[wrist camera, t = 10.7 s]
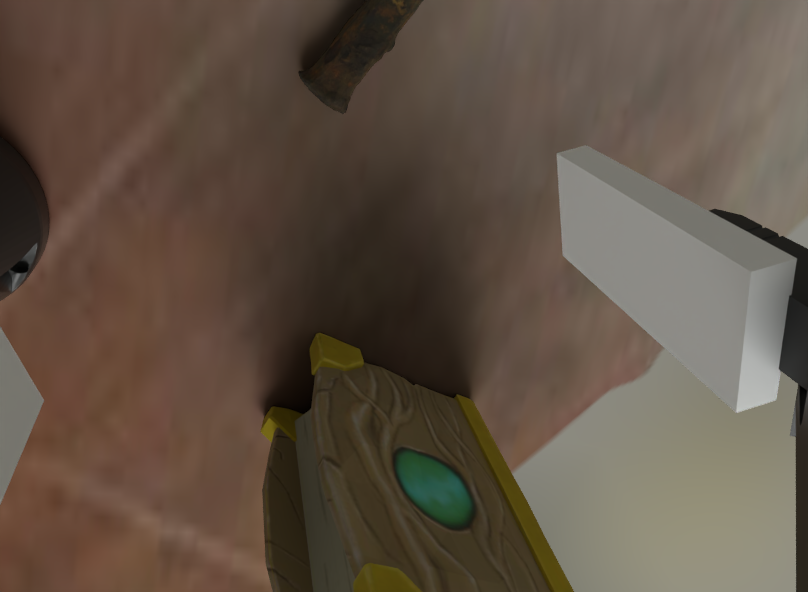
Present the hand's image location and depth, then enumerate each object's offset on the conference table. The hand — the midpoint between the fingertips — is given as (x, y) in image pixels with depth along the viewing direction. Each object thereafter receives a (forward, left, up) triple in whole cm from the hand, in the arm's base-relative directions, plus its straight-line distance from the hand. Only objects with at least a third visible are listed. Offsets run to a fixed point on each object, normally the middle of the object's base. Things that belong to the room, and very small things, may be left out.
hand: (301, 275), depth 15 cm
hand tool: (+11, +3, -37) cm, 39 cm away
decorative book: (+2, -33, -37) cm, 50 cm away
